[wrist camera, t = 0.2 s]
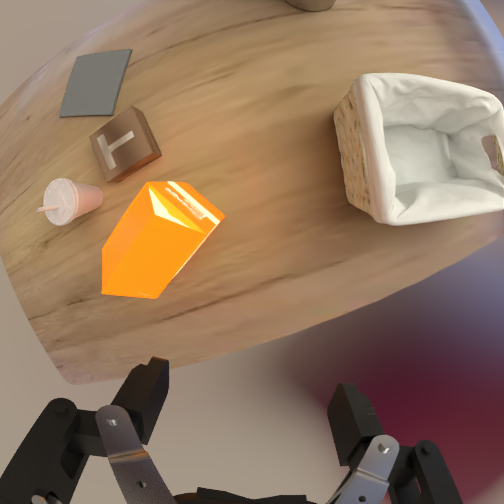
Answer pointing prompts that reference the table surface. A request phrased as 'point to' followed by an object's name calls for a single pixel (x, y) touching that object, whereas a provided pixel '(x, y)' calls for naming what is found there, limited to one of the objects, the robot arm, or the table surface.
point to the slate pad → (95, 84)
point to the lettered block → (124, 145)
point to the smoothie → (69, 200)
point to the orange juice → (156, 239)
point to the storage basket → (419, 148)
